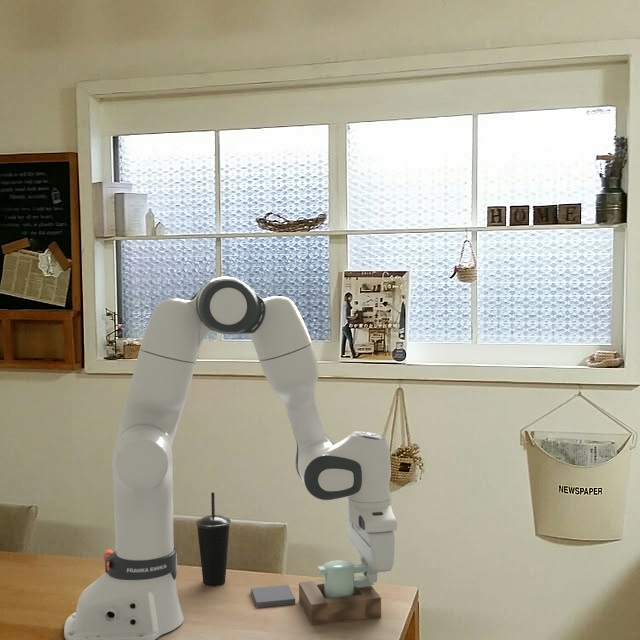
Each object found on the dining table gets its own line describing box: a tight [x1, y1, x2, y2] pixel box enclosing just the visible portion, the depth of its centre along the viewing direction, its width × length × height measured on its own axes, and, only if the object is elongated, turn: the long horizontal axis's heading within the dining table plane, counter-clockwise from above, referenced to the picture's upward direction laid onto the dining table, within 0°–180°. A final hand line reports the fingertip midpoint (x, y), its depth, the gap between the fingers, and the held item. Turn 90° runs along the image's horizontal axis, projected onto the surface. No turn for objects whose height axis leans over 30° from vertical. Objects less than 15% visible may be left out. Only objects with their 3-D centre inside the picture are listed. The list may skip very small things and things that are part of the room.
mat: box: [250, 584, 296, 608], centre depth 173 cm, size 8×8×1 cm
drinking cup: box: [195, 492, 232, 587], centre depth 182 cm, size 8×8×20 cm
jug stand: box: [298, 575, 382, 626], centre depth 167 cm, size 14×12×4 cm
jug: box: [317, 559, 375, 599], centre depth 167 cm, size 11×6×9 cm, turn 104°
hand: (369, 578), depth 168 cm, fingers closed
